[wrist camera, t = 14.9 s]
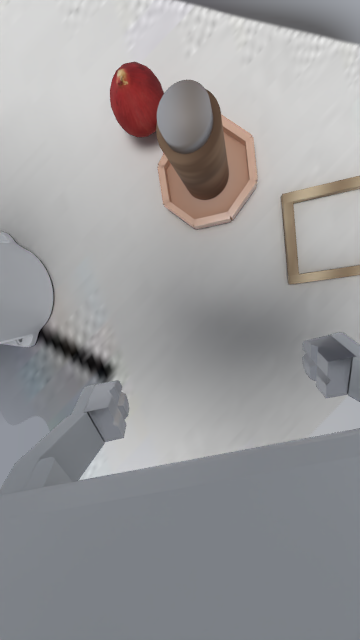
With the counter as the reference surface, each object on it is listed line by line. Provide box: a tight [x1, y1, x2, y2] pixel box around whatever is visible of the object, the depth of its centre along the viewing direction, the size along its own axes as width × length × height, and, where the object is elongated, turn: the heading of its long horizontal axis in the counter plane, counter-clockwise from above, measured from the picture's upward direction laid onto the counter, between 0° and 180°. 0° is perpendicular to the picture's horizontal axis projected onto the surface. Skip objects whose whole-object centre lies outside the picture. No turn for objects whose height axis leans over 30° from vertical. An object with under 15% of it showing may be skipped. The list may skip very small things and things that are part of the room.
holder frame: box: [281, 176, 360, 284], centre depth 26 cm, size 10×10×1 cm
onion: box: [110, 62, 164, 137], centre depth 25 cm, size 6×6×8 cm
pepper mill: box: [156, 80, 229, 200], centre depth 23 cm, size 5×5×12 cm
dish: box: [158, 115, 257, 229], centre depth 28 cm, size 11×11×2 cm
